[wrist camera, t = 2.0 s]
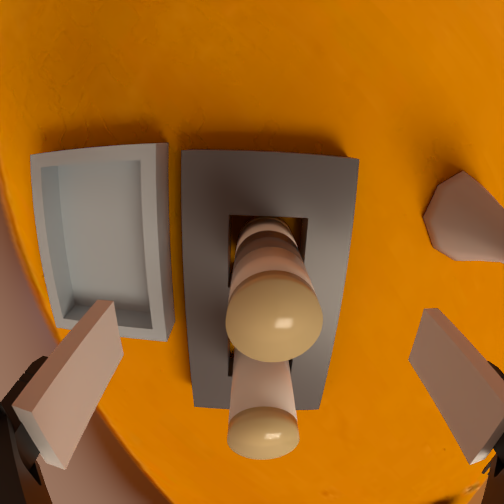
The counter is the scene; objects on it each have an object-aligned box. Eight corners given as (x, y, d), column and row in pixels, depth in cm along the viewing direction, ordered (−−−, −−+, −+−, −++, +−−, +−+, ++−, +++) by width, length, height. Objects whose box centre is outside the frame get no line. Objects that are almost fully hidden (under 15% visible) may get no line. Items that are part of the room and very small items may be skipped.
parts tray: (52, 151, 21) (30, 154, 18) (168, 142, 21) (155, 143, 18) (71, 310, 26) (56, 327, 23) (175, 320, 26) (167, 341, 23)
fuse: (236, 313, 25) (226, 418, 15) (286, 315, 25) (304, 419, 15) (235, 353, 27) (227, 458, 16) (282, 354, 27) (294, 458, 16)
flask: (407, 216, 23) (485, 264, 13) (461, 154, 21) (550, 172, 11) (450, 272, 24) (519, 331, 15) (498, 215, 22) (575, 253, 13)
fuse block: (189, 149, 21) (181, 150, 19) (348, 156, 21) (359, 159, 19) (198, 388, 28) (194, 406, 26) (314, 390, 28) (318, 409, 26)
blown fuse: (238, 213, 23) (225, 278, 12) (295, 216, 23) (329, 281, 12) (237, 266, 24) (225, 360, 14) (291, 268, 24) (315, 362, 14)
